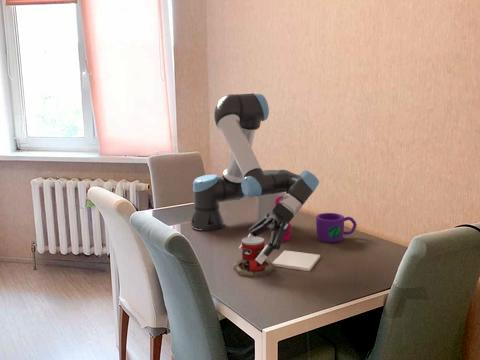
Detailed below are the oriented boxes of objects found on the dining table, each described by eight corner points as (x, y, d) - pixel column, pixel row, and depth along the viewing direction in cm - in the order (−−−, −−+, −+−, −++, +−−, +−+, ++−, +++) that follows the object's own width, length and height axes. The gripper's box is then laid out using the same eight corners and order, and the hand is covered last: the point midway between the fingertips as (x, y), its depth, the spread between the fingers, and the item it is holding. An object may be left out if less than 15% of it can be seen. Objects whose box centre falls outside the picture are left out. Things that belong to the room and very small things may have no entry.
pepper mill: (290, 242, 193) (290, 195, 189) (272, 241, 195) (272, 194, 191) (292, 236, 200) (291, 191, 196) (275, 236, 202) (274, 190, 198)
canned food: (241, 265, 170) (240, 236, 168) (263, 264, 171) (262, 235, 169) (243, 274, 163) (242, 244, 161) (266, 272, 163) (265, 242, 161)
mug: (321, 245, 189) (322, 221, 187) (312, 236, 200) (312, 213, 198) (362, 241, 192) (362, 217, 190) (350, 232, 203) (350, 210, 201)
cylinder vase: (254, 228, 213) (252, 174, 208) (263, 220, 224) (262, 169, 219) (280, 231, 208) (279, 175, 203) (288, 223, 220) (287, 170, 214)
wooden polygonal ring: (228, 273, 164) (228, 269, 163) (244, 260, 175) (244, 256, 175) (264, 278, 158) (264, 274, 158) (277, 264, 170) (277, 260, 170)
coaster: (271, 265, 169) (271, 263, 169) (284, 252, 182) (284, 250, 181) (309, 271, 163) (309, 268, 163) (320, 257, 176) (320, 254, 176)
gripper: (264, 195, 178) (228, 239, 175) (298, 210, 155) (258, 261, 152) (276, 207, 181) (242, 250, 178) (311, 223, 158) (273, 273, 155)
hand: (249, 255), depth 165 cm, fingers open, 13 cm apart
